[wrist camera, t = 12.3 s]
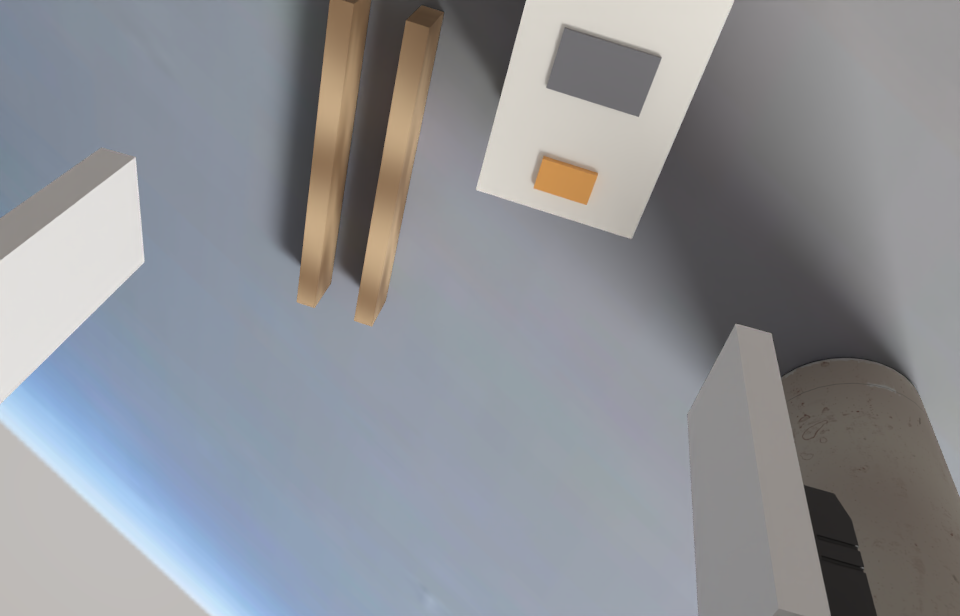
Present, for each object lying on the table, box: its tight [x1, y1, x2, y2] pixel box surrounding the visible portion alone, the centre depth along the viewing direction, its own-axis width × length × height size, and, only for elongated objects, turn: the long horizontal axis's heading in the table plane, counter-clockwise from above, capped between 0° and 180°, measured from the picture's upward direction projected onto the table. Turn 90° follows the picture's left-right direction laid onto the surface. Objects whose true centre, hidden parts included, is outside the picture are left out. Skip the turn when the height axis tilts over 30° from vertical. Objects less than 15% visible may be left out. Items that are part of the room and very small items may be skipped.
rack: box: [297, 0, 444, 326], centre depth 36 cm, size 16×4×2 cm, turn 167°
